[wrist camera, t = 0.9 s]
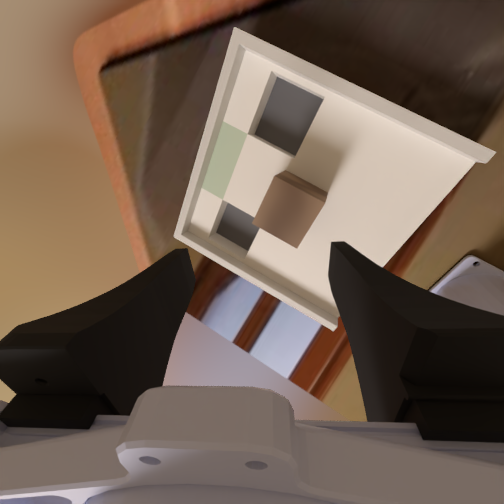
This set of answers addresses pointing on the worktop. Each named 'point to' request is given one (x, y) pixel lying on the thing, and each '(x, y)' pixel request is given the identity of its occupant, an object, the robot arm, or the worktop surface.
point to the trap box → (311, 172)
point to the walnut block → (289, 208)
